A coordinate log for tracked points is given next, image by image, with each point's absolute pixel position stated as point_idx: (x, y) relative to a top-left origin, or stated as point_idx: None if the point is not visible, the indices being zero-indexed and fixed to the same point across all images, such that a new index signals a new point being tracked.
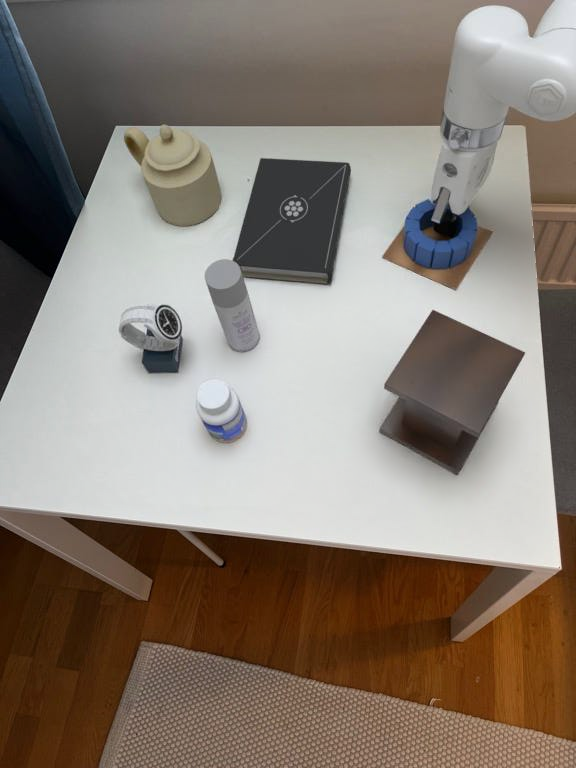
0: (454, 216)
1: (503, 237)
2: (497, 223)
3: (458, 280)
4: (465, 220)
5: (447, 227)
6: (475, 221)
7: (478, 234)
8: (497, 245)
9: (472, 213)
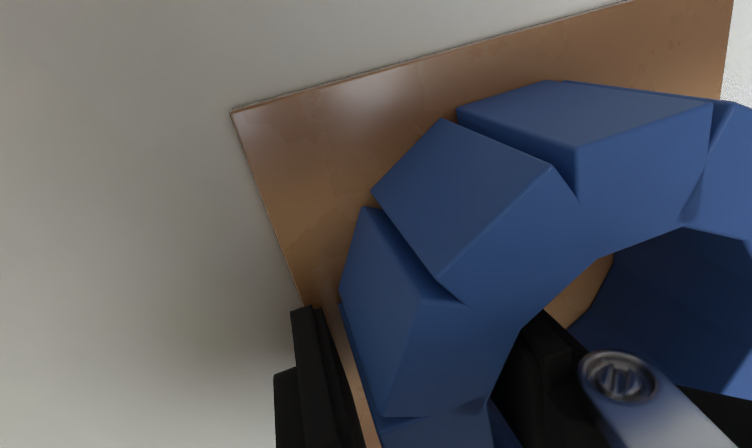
0: (671, 398)
1: (194, 18)
2: (131, 145)
3: (686, 3)
4: (519, 304)
5: (555, 324)
6: (484, 244)
7: (328, 165)
8: (289, 2)
9: (422, 325)
